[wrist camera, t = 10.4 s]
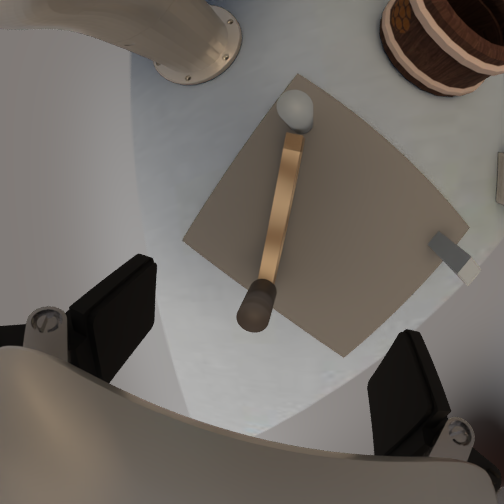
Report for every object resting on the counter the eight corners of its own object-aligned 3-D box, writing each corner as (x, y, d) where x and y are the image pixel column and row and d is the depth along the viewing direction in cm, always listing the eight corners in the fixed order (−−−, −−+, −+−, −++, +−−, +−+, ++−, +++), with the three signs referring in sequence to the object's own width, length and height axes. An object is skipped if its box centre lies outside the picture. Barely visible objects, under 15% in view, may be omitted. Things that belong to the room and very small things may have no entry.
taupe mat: (183, 239, 40) (182, 240, 40) (297, 74, 29) (297, 73, 29) (343, 355, 41) (343, 357, 41) (468, 226, 31) (469, 227, 30)
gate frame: (285, 125, 32) (269, 110, 20) (298, 107, 31) (290, 83, 19) (435, 255, 33) (478, 301, 21) (448, 240, 32) (495, 280, 20)
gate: (285, 135, 31) (270, 125, 20) (311, 140, 31) (310, 133, 20) (257, 283, 39) (232, 339, 27) (278, 289, 38) (262, 347, 27)
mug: (465, 119, 26) (534, 113, 12) (364, 66, 27) (394, 16, 13) (481, 16, 18) (531, -17, 5) (392, -33, 20) (414, -90, 6)
